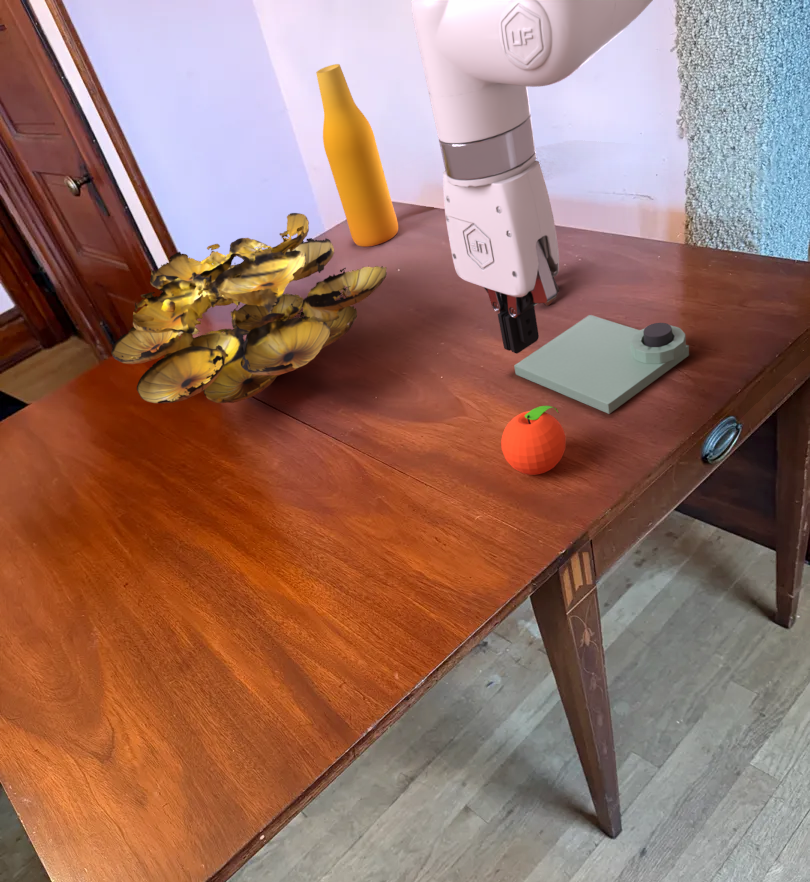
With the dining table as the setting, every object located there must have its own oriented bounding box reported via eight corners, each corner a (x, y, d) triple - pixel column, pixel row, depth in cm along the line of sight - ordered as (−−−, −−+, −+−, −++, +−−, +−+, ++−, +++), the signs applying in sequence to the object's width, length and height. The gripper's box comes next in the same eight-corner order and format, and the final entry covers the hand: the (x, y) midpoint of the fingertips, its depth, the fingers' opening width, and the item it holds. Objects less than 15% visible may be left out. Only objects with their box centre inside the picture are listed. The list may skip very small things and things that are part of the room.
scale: (695, 354, 91) (696, 332, 89) (612, 415, 86) (610, 394, 84) (593, 321, 102) (591, 301, 100) (515, 374, 98) (511, 354, 96)
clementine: (539, 435, 87) (530, 384, 82) (588, 453, 83) (581, 400, 78) (494, 475, 84) (482, 424, 80) (542, 495, 80) (532, 443, 75)
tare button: (677, 338, 89) (677, 326, 88) (659, 350, 88) (659, 339, 87) (656, 331, 92) (655, 320, 91) (638, 344, 91) (637, 332, 90)
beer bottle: (347, 250, 143) (294, 83, 124) (361, 229, 149) (312, 66, 130) (392, 243, 140) (344, 70, 120) (404, 222, 146) (360, 54, 127)
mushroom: (340, 273, 136) (307, 176, 125) (447, 368, 103) (416, 247, 91) (131, 368, 131) (76, 275, 119) (173, 500, 98) (103, 389, 86)
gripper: (400, 159, 65) (446, 343, 78) (515, 178, 55) (547, 387, 67) (465, 125, 68) (500, 309, 80) (587, 138, 57) (606, 346, 69)
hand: (521, 344), depth 74 cm, fingers closed
